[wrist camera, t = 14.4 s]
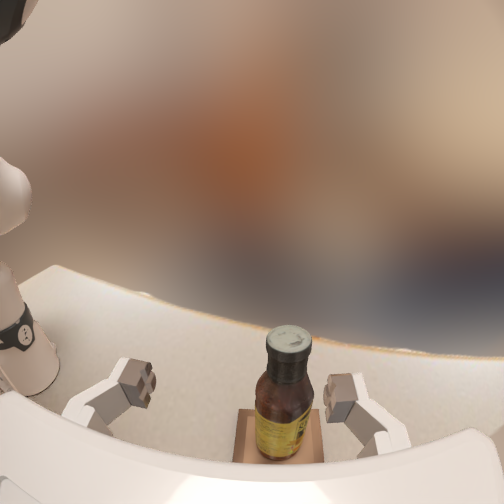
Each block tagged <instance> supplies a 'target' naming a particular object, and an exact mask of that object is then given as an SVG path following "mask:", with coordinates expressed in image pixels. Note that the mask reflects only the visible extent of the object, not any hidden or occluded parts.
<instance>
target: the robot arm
mask: <svg viewBox="0 0 504 504" xmlns="http://www.w3.org/2000/svg"><path fill="white" fill-rule="evenodd" d="M37 2H38V0H0V45H1V44H3V43H4V42H6V41H8V40H9V39H11V38H12V37H13V36H14V35H15V34H16V33H17V32H18V31H19V30H20V29H21V28H22V27H23V26H24V24H25V22H26V20H27V18H28V17H29V16H30V14H31V13H32V11H33V9H34V7H35V6H36V4H37ZM31 203H32V192H31V187H30V183H29V181H28V179H27V177H26V175H25V174H24V173H23V172H22V171H21V170H20V169H18V168H16V167H14V166H12V165H10V164H8V163H7V162H6V161H5V160H3V159H2V157H1V156H0V235H3V234H5V233H7V232H9V231H10V230H12V229H13V228H15V227H17V226H18V225H19V224H21V223H23V222H24V221H25V220H26V219H27V217H28V215H29V212H30V209H31ZM58 370H59V360H58V357H57V355H56V346H55V344H54V343H53V342H49V340H48V339H47V337H46V335H45V333H44V332H43V330H42V328H41V326H40V325H39V323H38V322H37V321H35V320H33V318H32V315H31V312H30V310H29V308H28V307H27V304H26V303H25V302H23V299H22V297H21V294H20V291H19V289H18V286H17V283H16V280H15V277H14V274H13V272H12V270H11V269H10V267H9V266H8V265H7V264H5V263H3V262H1V261H0V388H1V389H2V391H3V392H4V394H1V395H0V504H504V474H503V470H502V467H501V463H500V459H499V456H498V453H497V450H496V447H495V444H494V442H493V441H492V439H491V438H490V437H488V436H487V435H485V434H484V433H482V432H481V431H479V430H477V429H475V428H473V427H469V428H465V429H463V430H460V431H458V432H455V433H453V434H450V435H448V436H445V437H442V438H439V439H436V440H433V441H430V442H427V443H424V444H420V445H417V446H413V447H411V443H410V440H409V437H408V433H407V430H406V427H405V425H404V424H402V423H401V422H400V421H399V420H397V419H396V418H395V417H394V416H392V415H391V414H390V413H389V412H388V411H386V410H385V409H384V408H383V407H382V406H380V405H379V404H378V403H377V402H376V401H374V400H373V399H370V398H369V395H368V391H367V388H366V385H365V381H364V378H363V375H362V373H346V374H331V375H329V376H328V379H327V382H328V384H327V385H325V388H324V394H323V400H324V405H325V406H326V407H327V408H326V411H325V415H326V422H327V423H340V422H344V423H345V425H346V426H347V427H348V428H349V429H350V430H351V432H352V433H353V434H354V435H355V436H356V437H357V438H358V440H359V441H360V442H361V443H362V444H363V445H364V446H365V447H364V448H363V449H362V451H361V452H360V453H359V454H358V455H357V459H351V460H344V461H335V462H325V463H312V464H248V463H235V462H224V461H216V460H208V459H201V458H195V457H189V456H184V455H178V454H173V453H169V452H164V451H160V450H156V449H152V448H148V447H144V446H140V445H137V444H133V443H130V442H127V441H124V440H121V439H117V438H114V437H112V436H113V434H112V432H111V431H110V429H109V428H108V427H107V425H108V424H110V423H111V422H112V421H114V420H115V419H116V418H117V417H119V416H120V415H121V414H122V413H124V412H125V411H126V410H127V409H129V408H130V407H131V405H132V406H136V407H141V408H146V409H147V407H148V404H149V402H150V399H151V398H150V395H149V394H151V393H152V392H154V389H155V386H156V377H155V374H154V373H153V372H152V371H151V370H152V365H151V363H149V362H144V361H140V360H135V359H131V358H126V357H121V358H120V359H119V360H118V362H117V364H116V365H115V367H114V369H113V371H112V372H111V374H110V376H109V378H108V379H104V380H102V381H101V382H99V383H97V384H95V385H93V386H92V387H90V388H88V389H86V390H85V391H83V392H81V393H79V394H77V395H76V396H74V397H72V398H71V399H70V401H69V402H68V404H67V406H66V407H65V409H64V411H63V413H62V414H61V416H60V415H58V414H56V413H54V412H52V411H50V410H48V409H46V408H44V407H43V406H41V405H39V404H37V403H35V402H33V401H32V400H30V399H28V398H27V397H25V396H30V395H34V394H37V393H39V392H41V391H43V390H44V389H46V388H47V387H48V386H49V385H50V384H51V383H52V382H53V380H54V379H55V377H56V376H57V373H58Z"/></svg>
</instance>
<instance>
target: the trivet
mask: <svg viewBox="0 0 504 504" xmlns="http://www.w3.org/2000/svg"><path fill="white" fill-rule="evenodd" d="M233 462H235V463H248V464H312V463H324V454H323V444H322V435H321V426H320V418H319V409H311V412H310V416H309V420H308V424H307V427H306V431H305V435H304V438H303V442H302V445H301V447H300V448H299V449H298V451H297V452H296V454H295V455H293V456H292V457H290V458H288V459H285V460H272V459H269V458H267V457H265V456H263V455H262V454H261V452H260V451H259V450H258V448H257V444H256V437H255V410H250V409H239V413H238V421H237V430H236V438H235V446H234V454H233Z"/></svg>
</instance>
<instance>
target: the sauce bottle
mask: <svg viewBox="0 0 504 504" xmlns="http://www.w3.org/2000/svg"><path fill="white" fill-rule="evenodd" d="M311 346H312V337H311V335H310V334H309V333H308V332H307V331H306V330H304V329H303V328H300V327H297V326H294V325H283V326H279V327H276V328H274V329H272V330H271V331H270V332H269V333H268V335H267V338H266V349H267V353H268V364H267V370H266V371H265V372H264V373H263V374H262V376H261V377H260V378H259V380H258V382H257V385H256V391H255V392H256V400H255V437H256V444H257V448H258V450H259V451H260V452H261V454H262V455H263V456H265V457H267V458H269V459H272V460H285V459H288V458H290V457H292V456H293V455H295V454H296V452H297V451H298V449H299V448H300V447H301V445H302V442H303V438H304V435H305V431H306V427H307V424H308V420H309V416H310V412H311V407H312V403H313V398H314V391H313V388H312V385H311V383H310V380H309V377H308V374H307V361H308V356H309V355H310V353H311Z"/></svg>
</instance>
